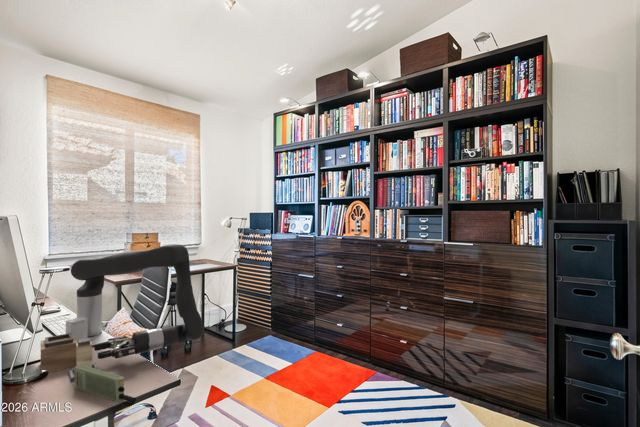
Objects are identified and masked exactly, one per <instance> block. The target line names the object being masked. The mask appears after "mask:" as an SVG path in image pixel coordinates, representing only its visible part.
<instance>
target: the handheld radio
mask: <svg viewBox="0 0 640 427" xmlns="http://www.w3.org/2000/svg"><path fill="white" fill-rule="evenodd" d="M73 368H74V373H73V375H74V381H73V382H74V388H76V389H78V390H81V391H85V392H88V393H90V394H93V395H96V396H99V397H102V398H106V399H108V400H112V401H115V402H123V401H126V402H130V403H132V404H134V403H136V401H137V398H136V397H133V396H131V395H127V394H125V387H124V384H125V381H124V379H125V378H126V377H124V376H122V375H119V374H115V373H113V372H108V371H105V370H101V369H99V368H98V369H99V370H98V369H95V368H91V367H88V366H84V365H78V366H74V367H73Z"/></svg>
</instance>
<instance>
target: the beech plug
mask: <svg viewBox="0 0 640 427" xmlns="http://www.w3.org/2000/svg"><path fill="white" fill-rule="evenodd" d="M90 338H91V337H87V338H86V339H81V340H78V343H77V344H76V366H78V365H84V366H88V367H91V368H92V364H93V343H92V341H91V339H90ZM76 366H75V367H76Z"/></svg>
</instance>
